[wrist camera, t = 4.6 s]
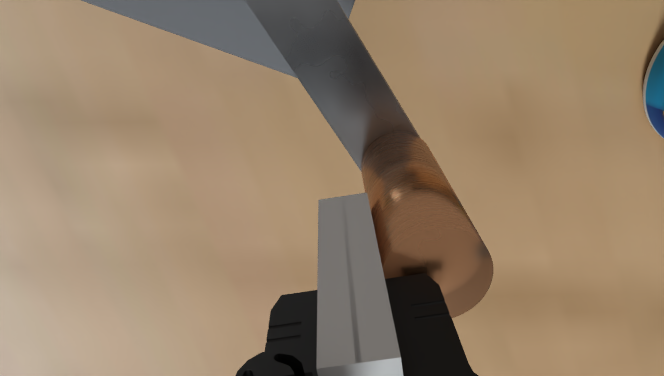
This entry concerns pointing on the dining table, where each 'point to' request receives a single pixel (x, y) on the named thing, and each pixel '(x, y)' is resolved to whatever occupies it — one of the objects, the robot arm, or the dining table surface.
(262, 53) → the stand
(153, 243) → the dining table surface
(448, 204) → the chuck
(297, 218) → the dining table surface
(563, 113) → the dining table surface
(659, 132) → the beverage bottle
